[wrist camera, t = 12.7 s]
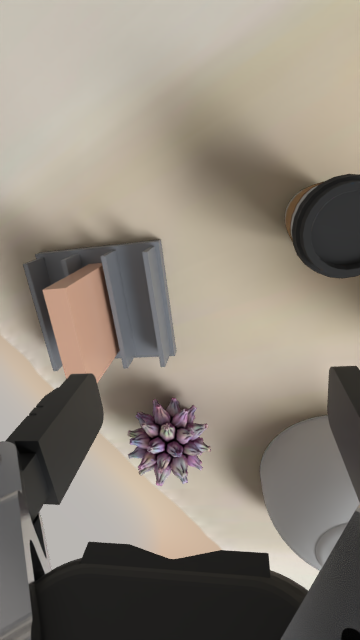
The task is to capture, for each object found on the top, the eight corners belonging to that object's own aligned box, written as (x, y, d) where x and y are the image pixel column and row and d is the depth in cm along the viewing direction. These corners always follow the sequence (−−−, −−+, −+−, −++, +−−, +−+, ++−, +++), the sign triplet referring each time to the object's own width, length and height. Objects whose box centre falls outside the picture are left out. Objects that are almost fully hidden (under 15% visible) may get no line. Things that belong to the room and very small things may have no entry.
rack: (40, 252, 47) (17, 260, 42) (160, 239, 44) (151, 246, 39) (68, 355, 53) (50, 374, 48) (176, 351, 50) (169, 369, 45)
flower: (225, 400, 52) (223, 459, 41) (193, 454, 56) (184, 520, 45) (156, 369, 51) (134, 419, 40) (129, 426, 56) (104, 485, 45)
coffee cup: (334, 257, 42) (383, 293, 28) (266, 242, 42) (282, 270, 29) (361, 184, 39) (431, 185, 25) (287, 170, 39) (316, 162, 25)
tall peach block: (89, 263, 45) (42, 289, 34) (107, 262, 45) (65, 288, 34) (106, 346, 49) (70, 392, 38) (123, 345, 49) (90, 392, 38)
